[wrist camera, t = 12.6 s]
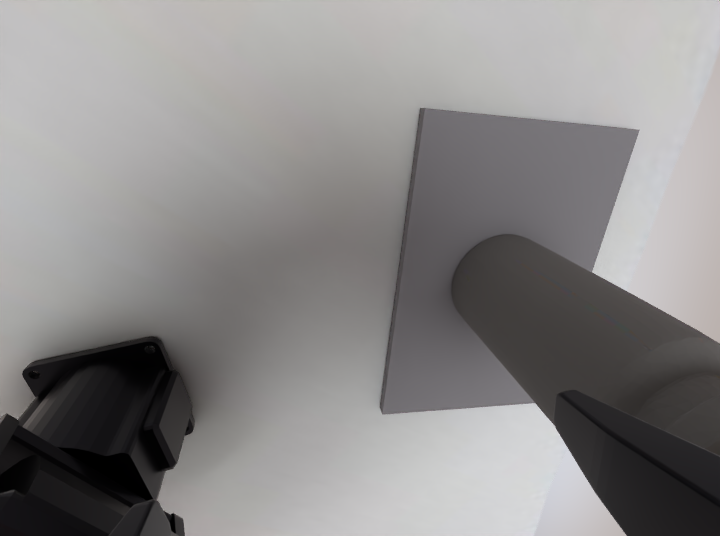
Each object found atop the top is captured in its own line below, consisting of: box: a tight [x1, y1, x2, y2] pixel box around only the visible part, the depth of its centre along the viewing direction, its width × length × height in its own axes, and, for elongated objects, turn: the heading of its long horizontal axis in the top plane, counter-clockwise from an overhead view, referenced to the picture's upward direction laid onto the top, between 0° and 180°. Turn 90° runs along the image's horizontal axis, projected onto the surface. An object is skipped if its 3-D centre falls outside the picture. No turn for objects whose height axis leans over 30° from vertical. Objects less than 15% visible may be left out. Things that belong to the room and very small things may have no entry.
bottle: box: [452, 234, 720, 456], centre depth 16 cm, size 6×6×15 cm
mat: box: [380, 108, 639, 414], centre depth 23 cm, size 18×12×1 cm, turn 175°
